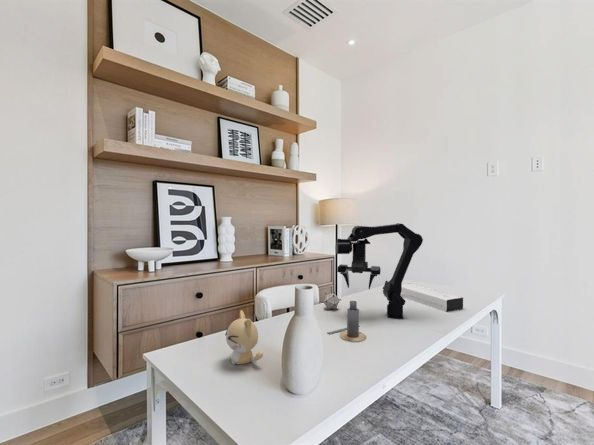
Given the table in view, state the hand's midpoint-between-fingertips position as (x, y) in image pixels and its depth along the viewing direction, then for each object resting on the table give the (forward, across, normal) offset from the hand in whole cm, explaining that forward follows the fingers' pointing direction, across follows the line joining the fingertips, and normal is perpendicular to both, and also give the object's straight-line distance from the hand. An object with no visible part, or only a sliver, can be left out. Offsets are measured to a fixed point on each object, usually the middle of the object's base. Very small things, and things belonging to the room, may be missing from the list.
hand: (358, 288), depth 143 cm
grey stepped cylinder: (+13, 0, -24) cm, 27 cm away
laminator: (+14, +32, +36) cm, 50 cm away
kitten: (+13, -31, -54) cm, 64 cm away
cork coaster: (+13, 0, -24) cm, 27 cm away
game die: (+13, -14, +8) cm, 21 cm away
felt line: (+13, -4, -18) cm, 22 cm away
